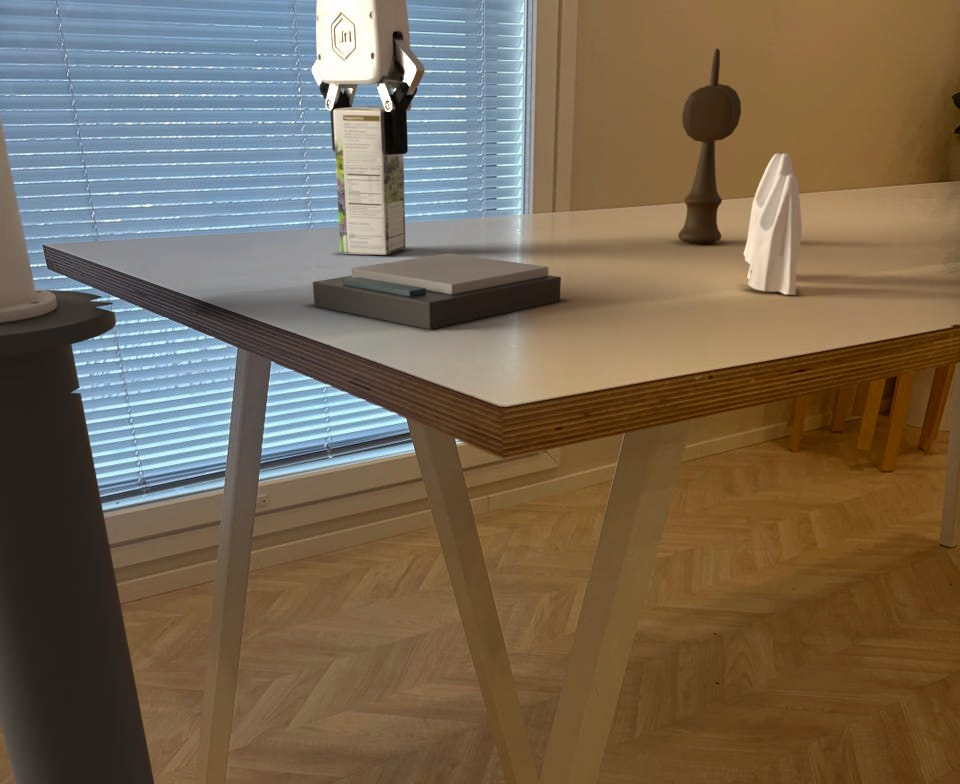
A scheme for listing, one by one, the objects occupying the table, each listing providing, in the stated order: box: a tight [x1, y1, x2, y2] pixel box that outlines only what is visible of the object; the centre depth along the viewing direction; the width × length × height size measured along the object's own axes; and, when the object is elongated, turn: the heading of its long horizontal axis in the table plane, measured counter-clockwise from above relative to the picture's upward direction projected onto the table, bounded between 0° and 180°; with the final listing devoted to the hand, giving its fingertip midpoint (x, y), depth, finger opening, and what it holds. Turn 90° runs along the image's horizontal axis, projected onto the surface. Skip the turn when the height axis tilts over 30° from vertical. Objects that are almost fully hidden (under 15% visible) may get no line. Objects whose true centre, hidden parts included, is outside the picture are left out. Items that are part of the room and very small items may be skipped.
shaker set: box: [743, 152, 803, 296], centre depth 94 cm, size 12×4×11 cm, turn 171°
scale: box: [312, 252, 562, 330], centre depth 88 cm, size 16×14×3 cm
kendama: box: [677, 48, 742, 244], centre depth 117 cm, size 6×10×20 cm, turn 163°
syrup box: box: [333, 105, 406, 256], centre depth 112 cm, size 6×6×14 cm
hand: (369, 151), depth 111 cm, fingers closed on syrup box, 7 cm apart
